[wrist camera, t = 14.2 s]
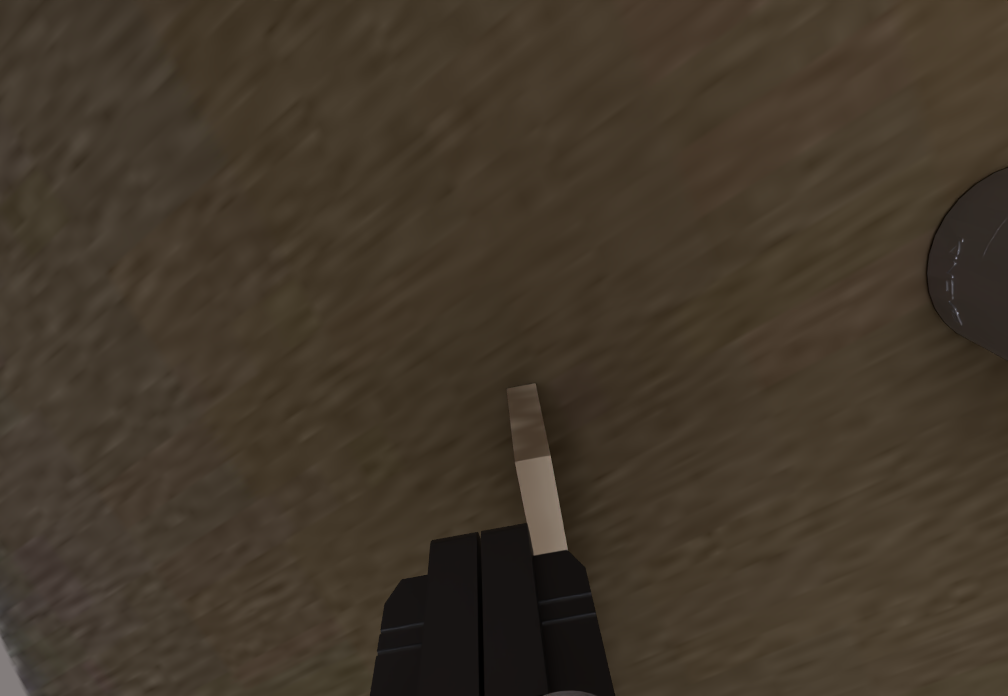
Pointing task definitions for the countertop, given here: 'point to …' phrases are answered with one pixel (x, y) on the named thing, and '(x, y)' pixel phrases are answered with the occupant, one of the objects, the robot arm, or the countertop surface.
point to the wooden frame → (535, 470)
